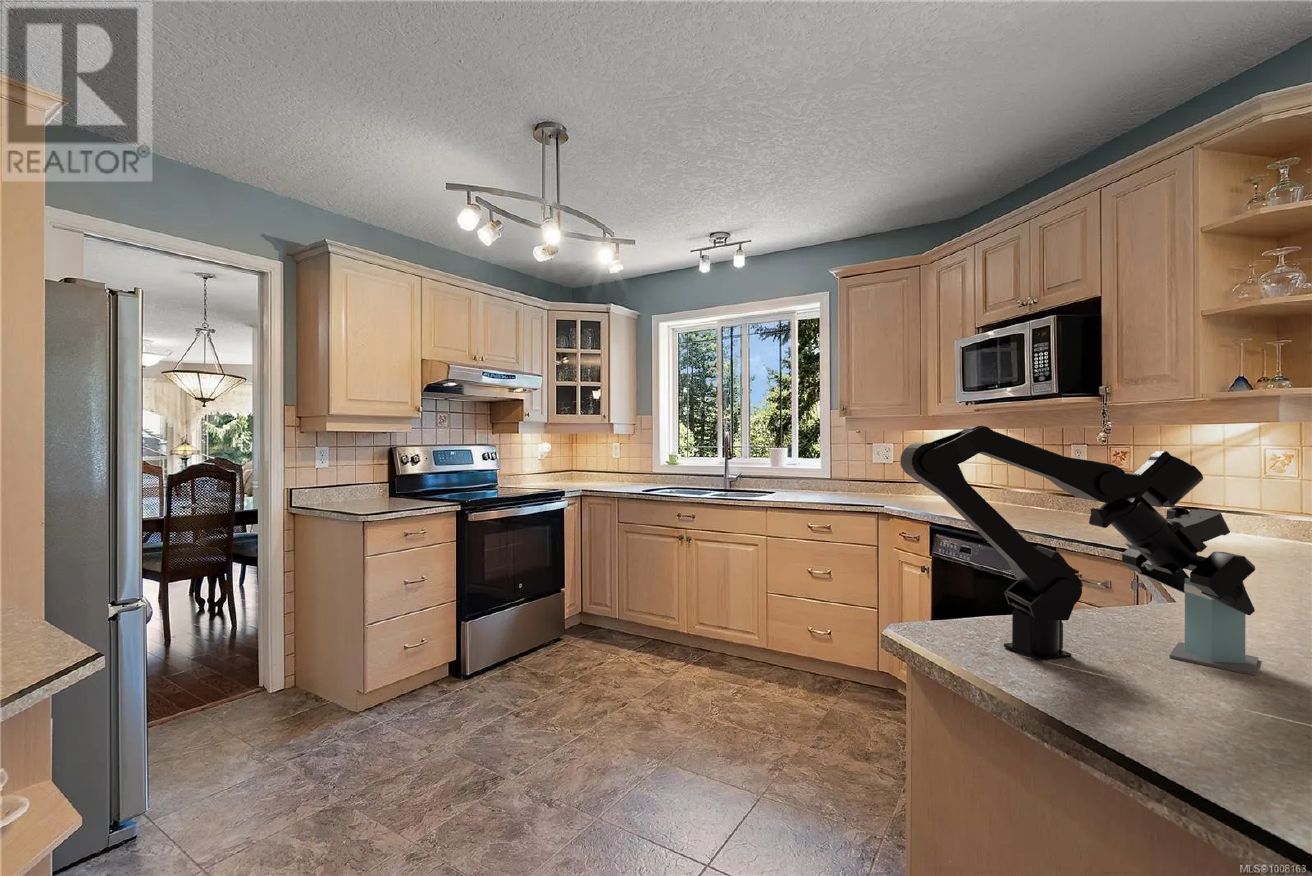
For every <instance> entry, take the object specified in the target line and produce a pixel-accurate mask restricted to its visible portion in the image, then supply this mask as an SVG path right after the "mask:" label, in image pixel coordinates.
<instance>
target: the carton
mask: <svg viewBox="0 0 1312 876" xmlns="http://www.w3.org/2000/svg"><path fill="white" fill-rule="evenodd" d="M1244 587H1245V589H1246V588H1247V587H1246V586H1244ZM1184 591H1185V593H1184V643H1185V650H1186V651H1188V652H1191V653H1193V654H1195V655H1197V656H1200V657H1202V658H1204V659H1206V660H1209V661H1211V662H1229V663H1245V655H1246V614H1244V613H1242V612H1240V611H1238V610H1236V609H1234V608H1231V607H1229V606H1227V605H1225V604H1223V603H1221V602H1219V601H1217V600H1215V599H1213V598H1211V597H1208V596H1206V595H1204V594H1202V593H1201V592H1202V591H1201V590H1199V589H1198V588H1196V587H1195V586H1194V585H1193V584H1192V583H1191V582H1190V578H1185V583H1184Z"/></svg>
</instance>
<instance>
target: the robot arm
mask: <svg viewBox="0 0 1312 876" xmlns="http://www.w3.org/2000/svg"><path fill="white" fill-rule="evenodd" d="M978 454H981V455H982V456H986V457H988V458H991V459H994V460H996V461H999V462H1002V463H1004V464H1008V465H1010V466H1012V467H1015V468H1019V469H1021V470H1023V471H1027V472H1030V473H1032V474H1035V475H1038V476H1040V477H1043V478H1045V479H1047V480H1048V481H1050V482H1051V483H1052V484H1054V485H1055V486H1056V487H1058V488H1059V489H1060V490H1063V491H1064V492H1066V493H1069V494H1070V495H1072V496H1073V497H1075V498H1076V499H1080V500H1081V499H1082V500H1087V501H1094V502H1099V503H1103V504H1102V505H1101V506H1100V507H1098V508H1094V507H1092V508H1090V516H1089V519H1088V520H1089V521H1088V524H1089V525H1091V526H1094V527H1099V528H1103V529H1107V528H1108V527H1110V525H1111V526H1112V527H1114V528H1115V530H1116V531H1117V532H1118V533H1120V535H1122V537H1124V538H1125V539H1126V542H1124V544H1125V546H1127V547H1128V548H1127V549H1125V551H1123V553H1121V562H1122V564H1124V565H1125V566H1126V567H1127V568H1128V570H1130V571H1133V572H1137V574H1139V575H1141V576H1143V577H1145V578H1148V579H1151V580H1152V581H1154V582H1155V581H1156V582H1157V583H1160V584H1162V585H1165V586H1166V587H1168V588H1169V587H1170V588H1171V589H1174V590H1176V591H1179V592H1181V593H1183V594H1185V591H1184V583H1185V578H1190V582H1191V583H1192V584H1193V585H1194V586H1195V587H1196V588H1198V589H1199V590H1201V591H1202V592H1201V593H1202V594H1204V595H1206V596H1208V597H1211V598H1213V599H1215V600H1217V601H1219V602H1221V603H1223V604H1225V605H1227V606H1229V607H1231V608H1234V609H1236V610H1238V611H1240V612H1242V613H1244V614H1245V616H1246V615H1247V616H1251V615H1252V614H1253V613H1255V612H1256V611H1255V610H1256V609H1255V607H1254V604H1253V603H1252V600H1251V599H1250V596H1249V594H1248V592H1247V590H1246V589H1245V587H1246V586H1245V583H1244V581H1245V580H1246V579H1247V578H1248V577H1249V576H1251V575H1252V574H1253V573H1254V572H1255V571H1256V566H1255V565H1254V564H1253V563H1252V562H1251V561H1250V560H1249V559H1248V558H1247V557H1246V556H1244V555H1240V554H1234V553H1231V552H1230V553H1229V552H1225V551H1213V552H1212V553H1210V555H1208V556H1207V557H1205V556H1201V555H1198V553H1202V552H1203V551H1205V550H1206V548H1207V547H1208V545H1207V544H1205V542H1209V541H1211V540H1213V539H1216V538H1218V537H1220V536H1227V535H1229V534H1230V533H1231V530H1230V528H1229V527H1228V525H1227V522H1226V520H1225V519H1224V516H1223V514H1222V512H1221V511H1217V510H1210V509H1200V508H1199V509H1194V508H1193V509H1189V510H1188V509H1187V508H1185V507H1183V506H1176V505H1177V503H1179V502H1180V501H1181V500H1182V499H1183V498H1185V497H1186V496H1187V495H1188V494H1189V493H1190V492H1191V491H1192V490H1193V489H1194V488H1195V487H1197V486H1198V485H1199V484H1200V483H1201V482H1202V481H1203V480H1204V475H1203V474H1202V471H1200V470H1199V468H1197V467H1196V466H1194V465H1193V464H1190V463H1189V462H1187V461H1186V460H1185V461H1184V459H1181V458H1180V457H1176V456H1173V455H1172V454H1170V453H1169V451H1167V450H1161V451H1160V450H1155V451H1154V452H1153V453H1152V454H1151V455H1149V458H1148V459H1147V460H1146V462H1144V463H1143V464H1142V465H1141V466H1140V467H1139V468H1137V469H1136V471H1134V472H1133V473H1131V472H1126V471H1125V470H1124V469H1123V468H1122V467H1120V466H1117V465H1115V464H1112V463H1105V462H1102V461H1101V462H1099V461H1094V460H1089V459H1082V458H1075V457H1069V456H1064V455H1061V454H1058V453H1056V452H1053V451H1050V450H1048V449H1045V448H1042V447H1039V446H1036V445H1034V444H1032V443H1029V442H1027V441H1022V440H1020V439H1018V438H1014V437H1012V436H1009V435H1006V434H1003V433H1001V432H998V431H995V430H993V429H991V428H990V427H988V426H986V425H973V426H971V425H970V426H967V427H965V428H963V429H961V430H960V431H958V432H955V433H951V434H949V435H947V436H946V435H945V436H944V437H941V438H938V439H935V440H933V441H930V442H914V443H911V444H909V445H908V446H906V447H904V449H903V451H902V452H901V455H900V467H901V469H902V470H903V471H904V473H905V474H906V475H908V476H909V477H910V478H912V479H914V481H916V482H917V483H919V484H921V485H922V486H924V487H926V488H927V489H929V490H930V491H932V492H934V493H936V494H937V495H939V496H940V497H942V498H943V499H944V500H945V501H946V502H947V503H948V504H949V506H951V507H952V508H953V509H954V510H955V511H956V512H957V513H958V514H959V515H960V516H961V517H962V518H963V519H964V520H965V521H966V522H968V524H969V525H970V526H971V527H972V528H973V529H974V530H975V531H976V532H977V533H978V534H979V535H980V536H982V537H983V539H985V541H987V542H988V543H989V544H990V546H991V547H993V548H994V550H996V551H997V552H998V553H999V555H1001V556H1002V557H1003V558H1004V559H1005V560H1006V562H1007V563H1008V565H1009V568H1010V570H1011V572H1012V574H1013V576H1014V577H1015V579H1016V581H1014V583H1013V584H1011V585H1010V586H1009V587H1008V588H1007V589H1005V591H1004V595H1005V599H1006V601H1007V604H1008V605H1010V606H1012V607H1015V609H1012V611H1011V612H1012V613H1011V614H1012V615H1011V616H1012V617H1011V619H1012V620H1011V621H1012V623H1011V625H1012V626H1011V630H1012V632H1011V634H1012V635H1011V636H1012V638H1011V640H1012V641H1011V642H1004V643H1003V647H1004V648H1006V649H1007V650H1011V651H1014V652H1016V653H1019V654H1021V655H1023V656H1026V657H1028V658H1032V659H1034V660H1037V661H1049V660H1056V659H1065V658H1072V653H1071V652H1068V651H1066V650H1063V649H1064V623H1063V621H1069V620H1070V617H1071V615H1072V613H1073V609H1074V608H1075V606H1076V605H1075V604H1077V603H1078V601H1079V600H1080V599H1081V597H1082V594H1083V587H1084V584H1083V582H1082V580H1081V579H1080V577H1079V576H1078V575H1077V574H1079V573H1080V571H1079V570H1077V569H1075V568H1074V567H1072V566H1071V565H1069V564H1068V563H1069V562H1067V561H1066V560H1065V558H1064V556H1063V555H1061V553H1060V552H1059V551H1055V550H1053V549H1050V548H1046V547H1043V546H1041V545H1036V546H1035V547H1034V546H1033V545H1032V544H1030V543H1029V541H1028V540H1027V539H1026V538H1024V537H1023V535H1021V534H1020V533H1019V532H1018V531H1017V529H1015V528H1014V527H1013V526H1012V525H1011V524H1010V523H1009V522H1008V521H1007V520H1006V519H1005V518H1004V517H1003V516H1002V515H1001V514H1000V513H999V512H998V511H997V510H996V509H995V508H994V507H993V506H992V505H991V504H990V503H989V502H987V500H986V499H985V498H983V496H981V494H979V493H978V492H977V491H976V490H975V489H974V488H973V486H971V484H969V482H967V480H966V478H965V475H964V474H963V471H962V469H961V468H960V464H962V463H965V462H966V461H968V460H969V459H971V458H973V457H975V456H976V455H978ZM1162 506H1163V507H1167V508H1168V509H1166V518H1165V517H1164V516H1163V515H1162V514H1161V513H1160V512H1158V510H1157V509H1156V508H1161V507H1162ZM1155 507H1156V508H1155ZM1185 570H1186V571H1187V570H1188V571H1190V573H1189V575H1188V573H1187V572H1186V571H1185Z"/></svg>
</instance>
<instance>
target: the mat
mask: <svg viewBox="0 0 1312 876" xmlns="http://www.w3.org/2000/svg"><path fill="white" fill-rule="evenodd" d="M1169 658H1170V659H1173V660H1178V661H1183V662H1188V663H1191V664H1197V665H1200V666H1201V665H1203V666H1206V667H1211V668H1217V669H1222V670H1225V671H1232V672H1236V673H1241V674H1245V675H1250V676H1255V675H1256V670H1257V667H1258V663H1259V657H1258V656H1253V655H1247V654H1245V663H1229V662H1211V661H1209V660H1206V659H1204V658H1202V657H1200V656H1197V655H1195V654H1193V653H1191V652H1188V651H1186V650H1185V642H1181V641H1178V642H1177V644H1176V645H1175V647H1174V648H1173V649H1172V651H1171V652H1170V654H1169Z"/></svg>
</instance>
